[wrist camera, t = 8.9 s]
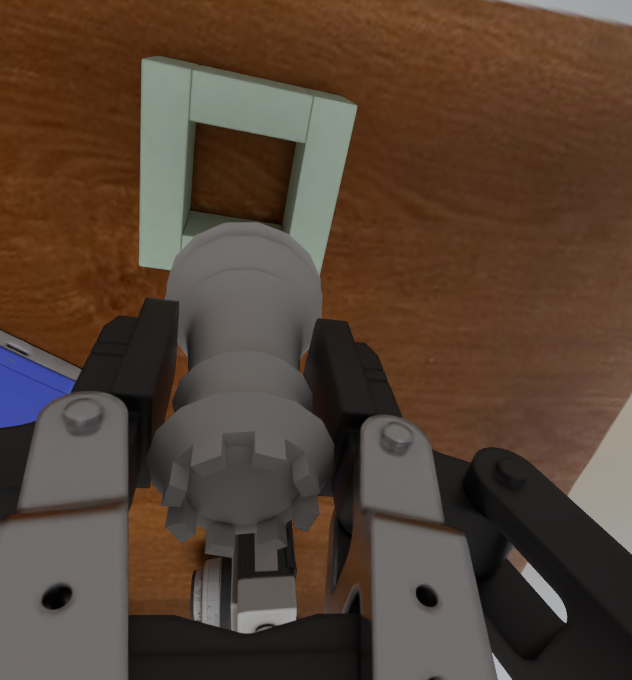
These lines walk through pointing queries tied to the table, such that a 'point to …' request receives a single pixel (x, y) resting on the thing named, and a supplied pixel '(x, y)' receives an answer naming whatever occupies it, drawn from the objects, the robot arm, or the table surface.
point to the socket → (244, 115)
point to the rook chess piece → (242, 391)
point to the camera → (247, 587)
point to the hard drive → (30, 380)
